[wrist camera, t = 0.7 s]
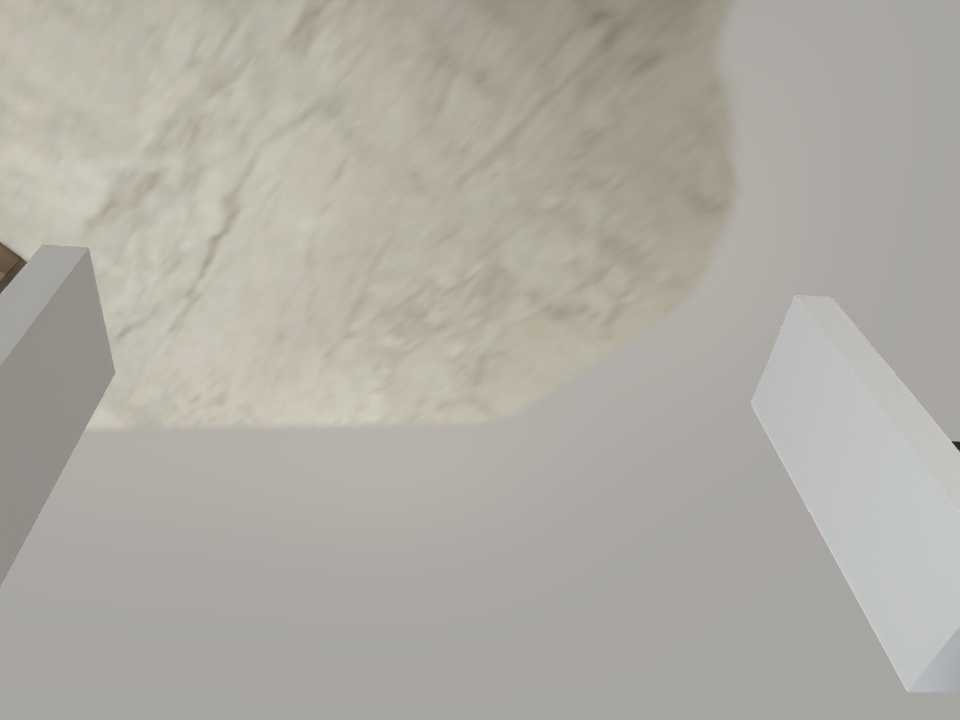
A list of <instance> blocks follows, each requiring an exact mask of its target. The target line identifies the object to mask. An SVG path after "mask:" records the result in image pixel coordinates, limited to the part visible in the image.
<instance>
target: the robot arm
mask: <svg viewBox="0 0 960 720" xmlns="http://www.w3.org/2000/svg"><path fill="white" fill-rule="evenodd" d="M114 374H115V370H114V365H113V360H112V356H111V351H110V346H109V341H108V337H107V332H106V327H105V323H104V318H103V313H102V308H101V304H100V299H99V294H98V290H97V285H96V280H95V276H94V271H93V266H92V261H91V257H90V252H89V248H85V247H70V246H55V245H42V246H41V247H40V248H39V249H38V251H37V252H36V253H35V254H34V255H33V256H32V258H31V259H30V260H29V261H28V262H27V263H26V265H25V266H24V267H23V268H22V269H21V270H20V272H19V273H18V274H17V275H16V276H15V277H14V279H13V280H12V281H11V282H10V283H9V284H8V286H7V287H6V288H5V289H4V290H3V291H2V293H1V294H0V585H1V584H2V582H3V580H4V578H5V576H6V575H7V573H8V571H9V569H10V567H11V565H12V563H13V562H14V560H15V558H16V556H17V554H18V552H19V550H20V549H21V547H22V545H23V543H24V541H25V539H26V537H27V536H28V534H29V532H30V530H31V528H32V526H33V524H34V523H35V520H36V519H37V517H38V515H39V513H40V511H41V510H42V508H43V506H44V504H45V502H46V500H47V498H48V497H49V495H50V493H51V491H52V489H53V487H54V485H55V484H56V482H57V480H58V478H59V476H60V474H61V472H62V470H63V468H64V467H65V465H66V463H67V461H68V459H69V457H70V455H71V454H72V452H73V450H74V448H75V446H76V444H77V443H78V441H79V439H80V437H81V435H82V433H83V431H84V430H85V428H86V426H87V424H88V422H89V420H90V418H91V417H92V415H93V413H94V411H95V409H96V407H97V405H98V404H99V402H100V400H101V398H102V396H103V394H104V392H105V391H106V389H107V387H108V385H109V383H110V381H111V379H112V378H113V376H114ZM750 404H751V406H752V408H753V409H754V411H755V413H756V415H757V417H758V418H759V420H760V422H761V424H762V426H763V428H764V430H765V431H766V433H767V435H768V437H769V439H770V441H771V442H772V444H773V446H774V448H775V450H776V452H777V454H778V455H779V457H780V459H781V461H782V463H783V465H784V466H785V468H786V470H787V472H788V474H789V476H790V477H791V479H792V481H793V483H794V485H795V487H796V488H797V490H798V492H799V494H800V496H801V498H802V499H803V501H804V503H805V505H806V507H807V509H808V510H809V512H810V514H811V516H812V518H813V520H814V522H815V523H816V525H817V527H818V529H819V531H820V533H821V534H822V536H823V538H824V540H825V541H826V543H827V545H828V547H829V549H830V551H831V553H832V554H833V556H834V558H835V560H836V562H837V564H838V565H839V567H840V569H841V571H842V573H843V575H844V577H845V578H846V580H847V582H848V584H849V586H850V588H851V589H852V591H853V593H854V595H855V597H856V599H857V601H858V602H859V604H860V606H861V608H862V610H863V612H864V613H865V615H866V617H867V619H868V621H869V623H870V624H871V626H872V628H873V630H874V632H875V634H876V635H877V637H878V639H879V641H880V643H881V644H882V647H883V648H884V650H885V652H886V654H887V655H888V658H889V659H890V661H891V662H892V665H893V667H894V669H895V670H896V672H897V674H898V676H899V678H900V680H901V681H902V683H903V685H904V687H905V689H906V690H907V692H956V691H957V690H958V689H959V688H960V442H953V441H950V439H949V438H948V437H947V436H946V435H945V433H944V432H943V431H942V430H941V429H940V427H939V426H938V425H937V424H936V423H935V421H934V420H933V419H932V418H931V416H930V415H929V414H928V413H927V412H926V410H925V409H924V408H923V407H922V406H921V404H920V403H919V402H918V401H917V400H916V398H915V397H914V396H913V395H912V394H911V392H910V391H909V390H908V389H907V387H906V386H905V385H904V384H903V383H902V381H901V380H900V379H899V378H898V376H897V375H896V374H895V373H894V372H893V370H892V369H891V368H890V367H889V366H888V364H887V363H886V362H885V361H884V360H883V358H882V357H881V356H880V355H879V353H878V352H877V351H876V350H875V349H874V348H873V346H872V345H871V344H870V343H869V341H868V340H867V339H866V338H865V337H864V335H863V334H862V333H861V332H860V330H859V329H858V328H857V327H856V326H855V324H854V323H853V322H852V321H851V320H850V318H849V317H848V316H847V315H846V314H845V312H844V311H843V310H842V309H841V307H840V306H839V305H838V304H837V303H836V301H835V300H834V299H833V298H832V297H827V296H812V295H797V294H795V295H794V298H793V300H792V303H791V305H790V307H789V310H788V312H787V315H786V317H785V320H784V322H783V325H782V327H781V329H780V332H779V334H778V337H777V339H776V342H775V344H774V347H773V349H772V352H771V354H770V357H769V359H768V361H767V364H766V366H765V369H764V371H763V373H762V376H761V378H760V381H759V384H758V386H757V388H756V391H755V393H754V396H753V398H752V400H751V403H750Z"/></svg>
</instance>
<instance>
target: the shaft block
mask: <svg viewBox="0 0 960 720" xmlns="http://www.w3.org/2000/svg"><path fill="white" fill-rule="evenodd" d="M20 259H21V258H20V257H19V256H18V255H16V254H15V253H13V252H12V251H10V250H9V249H8V248H6V247H5V246H3V245H2V244H1V243H0V281H1V280H2V278H3V277H4V276H5V275H6V274H7V273H8V272H9V271H10V270H11V269H12V268H13V266H14V265H15V264H16V263H17V262H18V261H19V260H20Z"/></svg>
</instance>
